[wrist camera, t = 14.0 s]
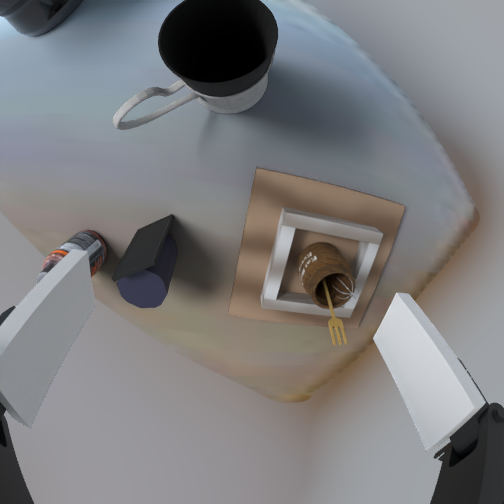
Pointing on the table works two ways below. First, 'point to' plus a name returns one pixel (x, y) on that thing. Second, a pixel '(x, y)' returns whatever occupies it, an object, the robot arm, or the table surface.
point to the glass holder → (213, 56)
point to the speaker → (147, 265)
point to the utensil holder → (327, 281)
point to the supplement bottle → (80, 241)
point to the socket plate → (302, 235)
